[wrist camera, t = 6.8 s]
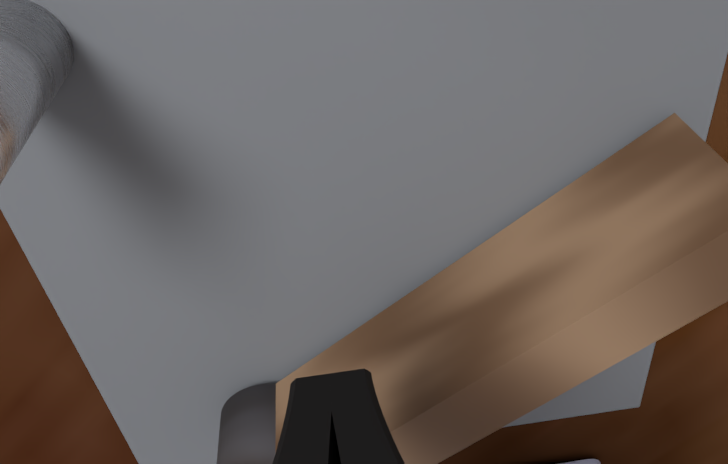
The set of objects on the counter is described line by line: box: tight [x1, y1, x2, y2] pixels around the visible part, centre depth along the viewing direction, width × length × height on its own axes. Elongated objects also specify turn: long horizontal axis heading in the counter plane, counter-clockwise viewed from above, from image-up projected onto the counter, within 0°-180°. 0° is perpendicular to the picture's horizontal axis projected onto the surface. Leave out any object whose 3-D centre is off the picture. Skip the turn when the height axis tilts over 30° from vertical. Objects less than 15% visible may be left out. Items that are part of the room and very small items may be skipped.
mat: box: [0, 0, 728, 464], centre depth 18 cm, size 20×18×1 cm
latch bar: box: [217, 113, 728, 464], centre depth 17 cm, size 17×3×6 cm, turn 130°
